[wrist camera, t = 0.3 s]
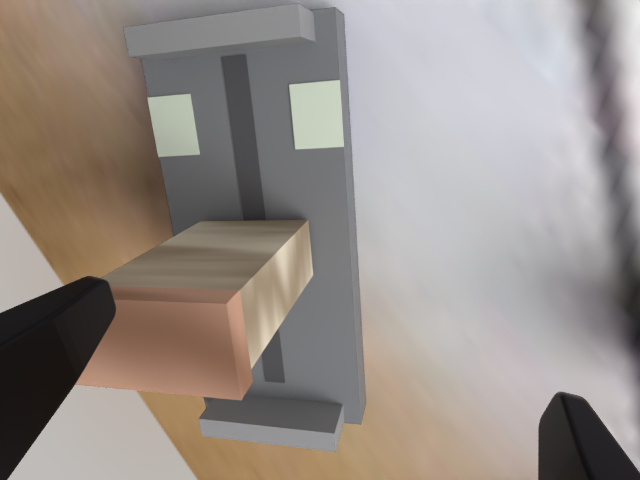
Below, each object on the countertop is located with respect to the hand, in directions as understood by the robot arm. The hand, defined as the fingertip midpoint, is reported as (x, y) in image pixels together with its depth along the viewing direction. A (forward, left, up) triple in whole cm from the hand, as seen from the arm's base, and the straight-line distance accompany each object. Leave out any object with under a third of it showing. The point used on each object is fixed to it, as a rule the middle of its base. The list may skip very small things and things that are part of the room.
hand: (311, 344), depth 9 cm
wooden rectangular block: (-7, +2, -14) cm, 15 cm away
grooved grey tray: (-7, +2, -16) cm, 18 cm away
